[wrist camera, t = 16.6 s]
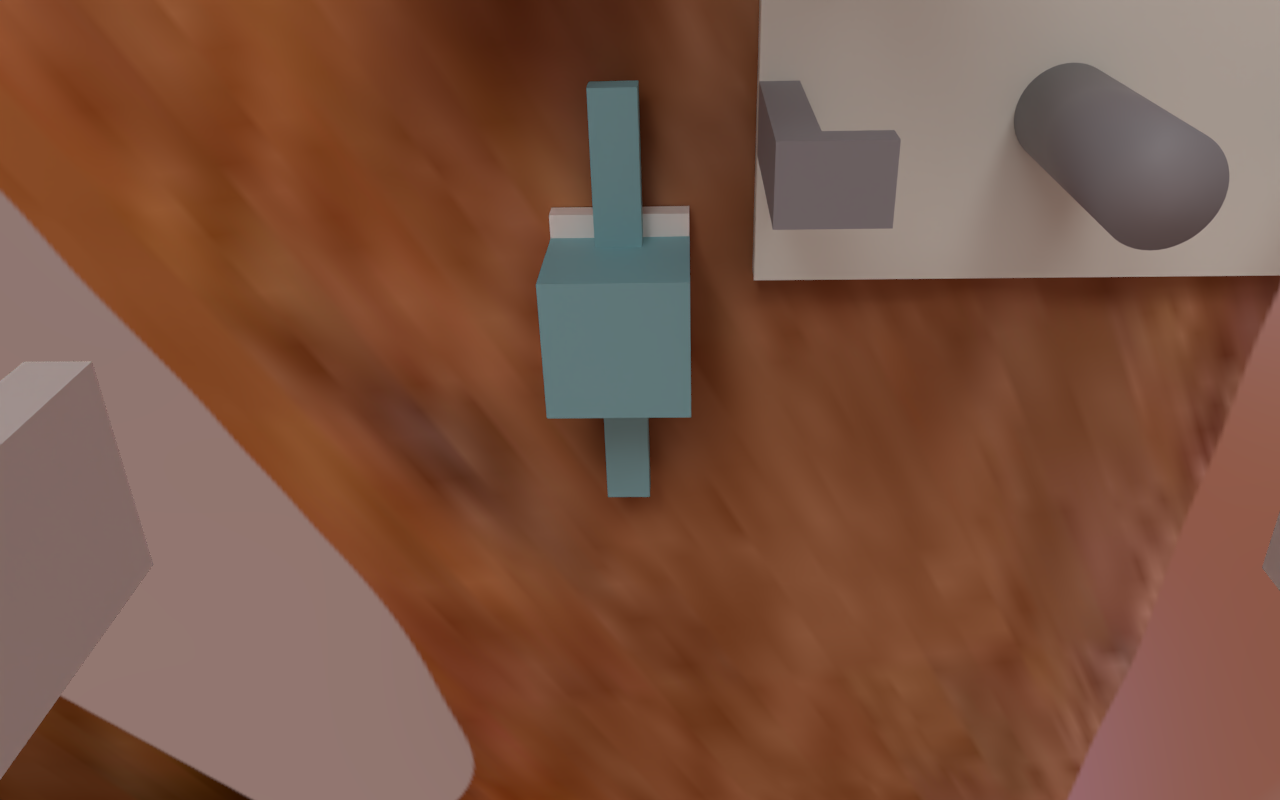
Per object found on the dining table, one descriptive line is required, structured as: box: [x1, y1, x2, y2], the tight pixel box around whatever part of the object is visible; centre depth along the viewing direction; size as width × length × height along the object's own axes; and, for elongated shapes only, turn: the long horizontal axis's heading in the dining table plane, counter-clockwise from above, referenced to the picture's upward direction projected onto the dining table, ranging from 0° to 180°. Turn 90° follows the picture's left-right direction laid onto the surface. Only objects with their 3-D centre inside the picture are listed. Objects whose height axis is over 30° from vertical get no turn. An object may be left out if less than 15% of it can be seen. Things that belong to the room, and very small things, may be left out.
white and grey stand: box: [752, 0, 1280, 280], centre depth 39 cm, size 14×24×11 cm, turn 91°
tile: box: [549, 206, 689, 239], centre depth 48 cm, size 8×6×1 cm
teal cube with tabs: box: [536, 80, 691, 497], centre depth 45 cm, size 6×19×5 cm, turn 2°
